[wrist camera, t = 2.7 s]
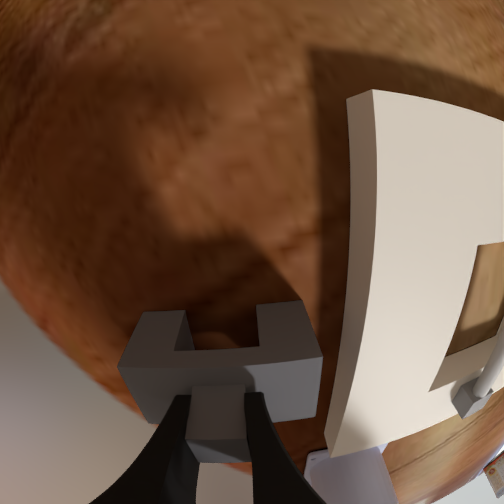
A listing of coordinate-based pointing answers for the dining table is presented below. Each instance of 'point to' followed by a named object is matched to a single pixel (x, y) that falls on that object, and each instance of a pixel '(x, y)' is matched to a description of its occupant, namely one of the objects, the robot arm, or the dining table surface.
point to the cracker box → (496, 475)
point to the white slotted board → (414, 267)
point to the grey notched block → (224, 376)
